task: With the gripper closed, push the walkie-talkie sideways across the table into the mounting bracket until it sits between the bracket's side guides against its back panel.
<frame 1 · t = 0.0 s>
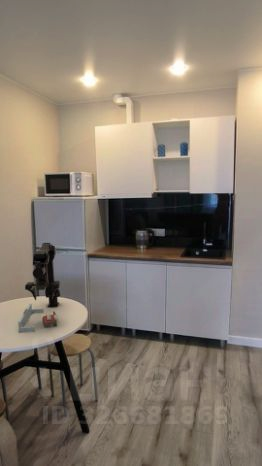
hand: (44, 299, 181), 15 cm above the table, tool pointing down, fingers open, 9 cm apart
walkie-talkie: (50, 321, 187), on the table
mounting bracket: (33, 321, 187), on the table
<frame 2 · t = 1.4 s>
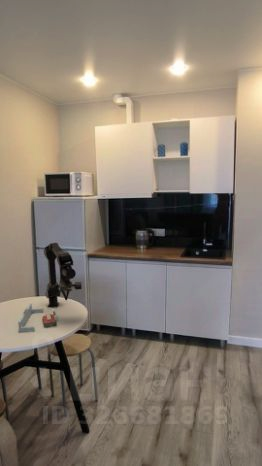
hand: (66, 300, 186), 12 cm above the table, tool pointing down, fingers closed
nothing on the table moved.
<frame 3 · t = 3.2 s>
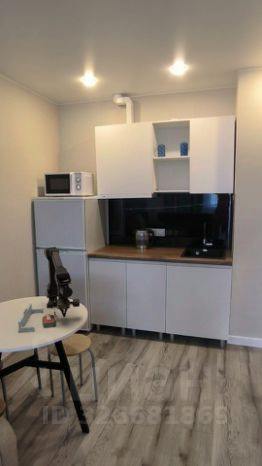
hand: (64, 317, 188), 1 cm above the table, tool pointing down, fingers closed
nothing on the table moved.
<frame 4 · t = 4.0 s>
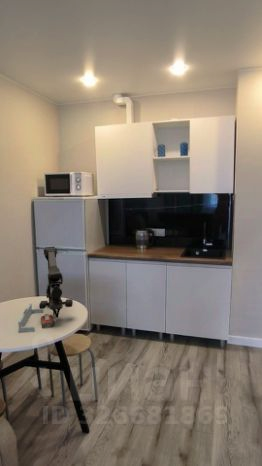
hand: (57, 317, 187), 2 cm above the table, tool pointing down, fingers closed
nothing on the table moved.
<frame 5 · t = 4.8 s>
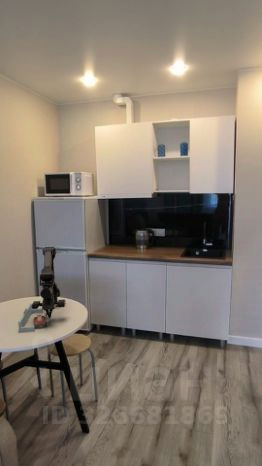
hand: (49, 318, 187), 2 cm above the table, tool pointing down, fingers closed
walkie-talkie: (41, 322, 186), on the table
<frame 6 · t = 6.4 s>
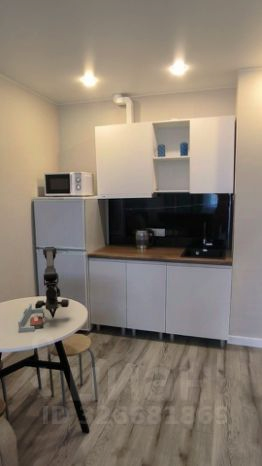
hand: (53, 317, 187), 2 cm above the table, tool pointing down, fingers closed
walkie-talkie: (38, 323, 186), on the table
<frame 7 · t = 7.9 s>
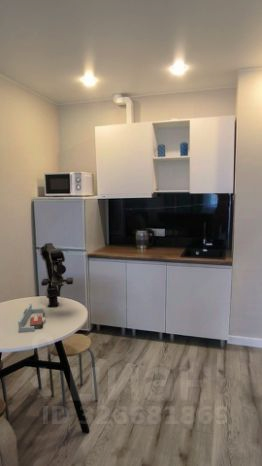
hand: (58, 294, 196), 12 cm above the table, tool pointing down, fingers closed
nothing on the table moved.
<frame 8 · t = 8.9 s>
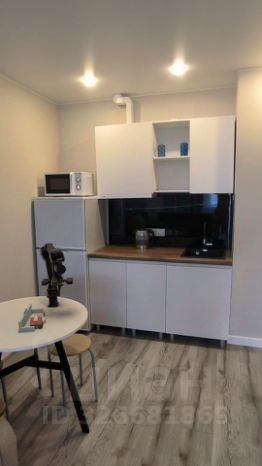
hand: (58, 294, 196), 12 cm above the table, tool pointing down, fingers closed
nothing on the table moved.
at the end: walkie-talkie inside the target area on the mounting bracket (2.1 cm from its centre), point -0.7 cm above the mounting bracket's base; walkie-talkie tilted 0°; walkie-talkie moved 7.0 cm from its start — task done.
